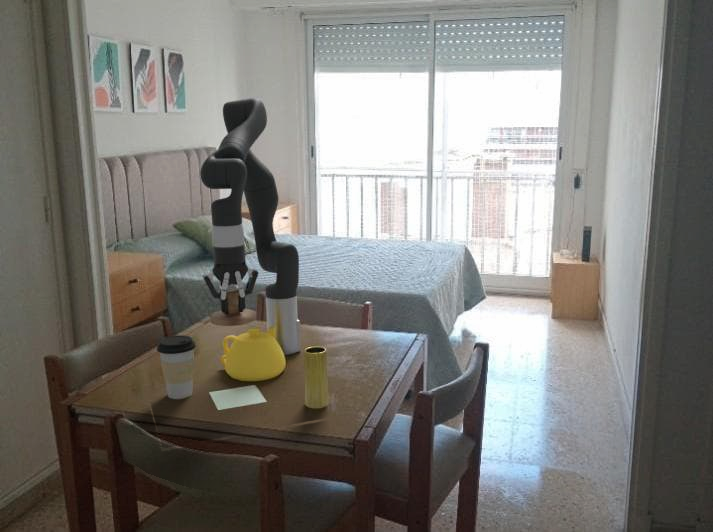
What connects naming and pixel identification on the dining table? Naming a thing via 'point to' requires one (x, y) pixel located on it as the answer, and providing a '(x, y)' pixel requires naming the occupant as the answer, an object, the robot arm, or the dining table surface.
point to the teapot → (253, 356)
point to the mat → (237, 397)
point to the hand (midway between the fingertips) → (232, 312)
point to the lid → (233, 312)
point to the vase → (316, 378)
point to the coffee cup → (177, 365)
